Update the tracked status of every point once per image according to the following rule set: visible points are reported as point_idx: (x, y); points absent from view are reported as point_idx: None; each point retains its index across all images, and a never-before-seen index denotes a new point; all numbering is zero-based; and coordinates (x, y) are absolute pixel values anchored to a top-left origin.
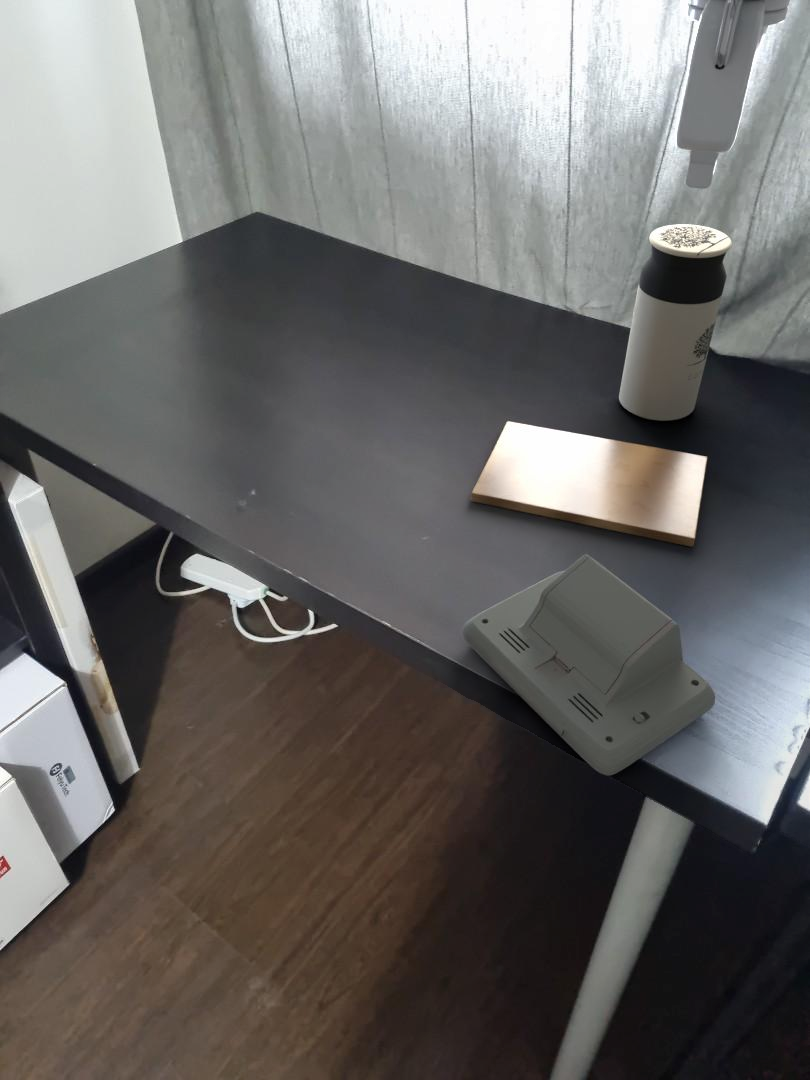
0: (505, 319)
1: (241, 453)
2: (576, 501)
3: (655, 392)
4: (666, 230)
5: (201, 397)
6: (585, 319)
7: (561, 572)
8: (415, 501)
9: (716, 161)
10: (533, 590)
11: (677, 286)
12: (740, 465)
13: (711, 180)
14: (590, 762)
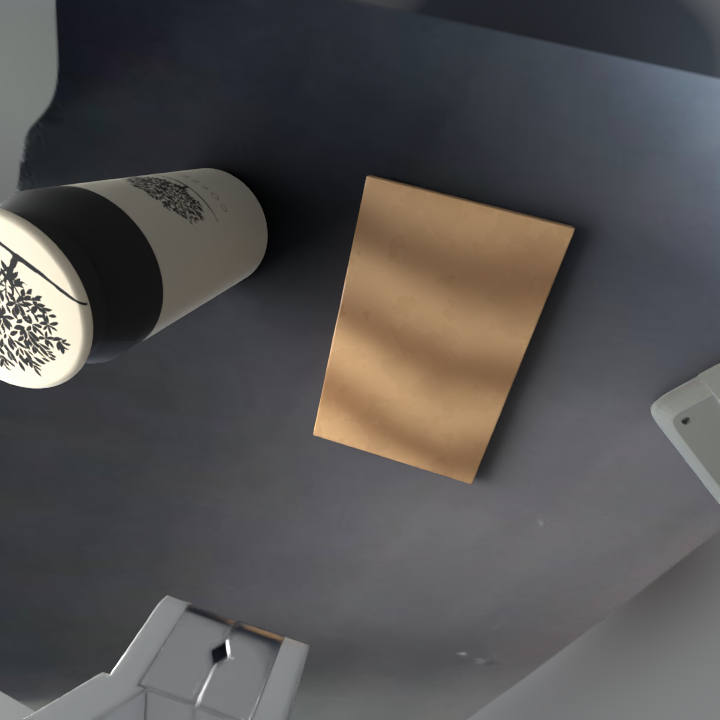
0: (51, 408)
1: (397, 661)
2: (487, 373)
3: (248, 255)
4: None
5: (304, 687)
6: None
7: (673, 424)
8: (473, 527)
9: (147, 647)
10: (705, 457)
11: (141, 310)
12: (364, 115)
13: (301, 665)
14: None
